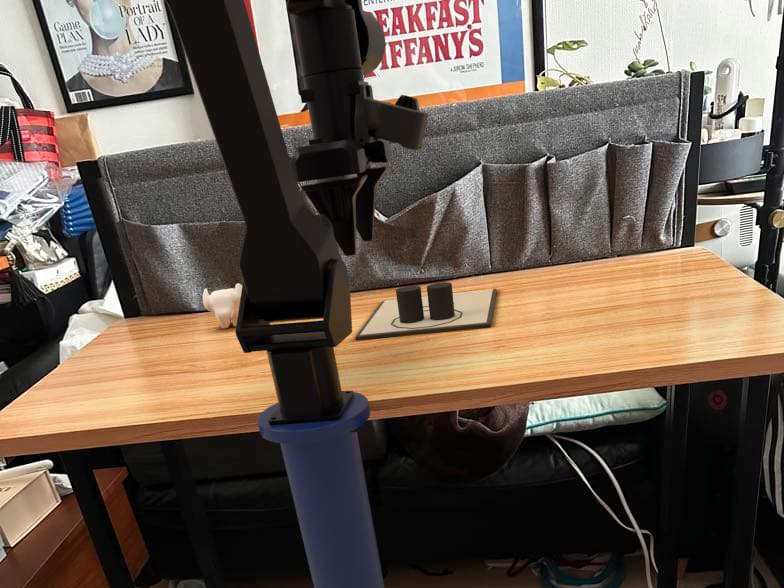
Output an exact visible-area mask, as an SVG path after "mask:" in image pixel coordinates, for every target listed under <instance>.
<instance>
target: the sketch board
mask: <svg viewBox="0 0 784 588" xmlns="http://www.w3.org/2000/svg"><path fill="white" fill-rule="evenodd" d="M497 292H498V289H497V288H490V289H480V290H470V291H462V292H453V302H454V312H455V316H454V317H452V318H449V319H445V320H431V319H430V312H429V303H428V295H425V296H422V304H423V312H424V319H423V320H422V321H419V322H415V323H401V322H400V318H399V311H398V303H397V298H396V299H388V300H382V301H381V302H380V304H379V305H378V306H377V308H376V309H375V310H374V311H373V313H372V314H371V316H370V317H369V318H368V320H367V321H366V322H365V323H364V324H363V326H362V328H361V329H360V330H359V331H358V333H357V334H356V335H355V341H361V340H371V339H381V338H391V337H402V336H413V335H421V334H431V333H434V334H435V333H440V332H441V333H443V332H452V331H461V330H462V331H463V330H473V329H483V328H491V326H492V321H493V316H494V315H493V314H494V309H495V303H496V298H497Z"/></svg>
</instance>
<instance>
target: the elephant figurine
mask: <svg viewBox="0 0 784 588" xmlns="http://www.w3.org/2000/svg"><path fill="white" fill-rule="evenodd" d="M242 285H243V284H241V283H236V284H235V286H234V287H232V288H225V289H218V290H213V291H212V292H211V293H210V294H209V291H208V288H207V287H206V288H204V290H203V292H202V305H203V308H204V309H206V310H207V311H209V312H211V313H214V316H215V318H216V320H218V322H219V325H220V327H221V328H222V329H228V328H230V327H231V326H230V325H232V326H233V327H234V328H236V324H237V318H238V311H239V305H240V298H241V292H242Z"/></svg>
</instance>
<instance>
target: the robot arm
mask: <svg viewBox="0 0 784 588" xmlns="http://www.w3.org/2000/svg"><path fill="white" fill-rule="evenodd" d="M163 1H164V2H165V3H166V5H167V6H168V8H169V11H170V14H171V16H172V20H173V22H174V26H175V28H176V31H177V33H178V37H179V39H180V42H181V45H182V48H183V51H184V54H185V56H186V59H187V62H188V65H189V68H190V71H191V73H192V76H193V79H194V82H195V85H196V88H197V90H198V94H199V96H200V99H201V102H202V105H203V108H204V110H205V114H206V116H207V119H208V123H209V126H210V128H211V130H212V134H213V136H214V139H215V142H216V144H217V148H218V151H219V153H220V156H221V159H222V162H223V165H224V169H225V171H226V174H227V177H228V180H229V182H230V185H231V187H232V188H231V189H232V191H233V194H234V196H235V199H236V202H237V205H238V208H239V210H240V214H241V216H242V219H243V223H244V226H245V229H244V234H243V240H242V244H241V249H240V254H239V258H238V267H239V271H240V274H241V278H242V284H241V285H242V292H241V298H240V305H239V311H238V318H237V324H236V327H235V336H236V338H237V341H238V343H239V345H240V348H241V350H242V352H243V353H244V354H252V352H266V355H267V359H268V364H269V368H270V372H271V376H272V382H273V385H274V390H275V394H276V398H277V403H279V407H278V408H277V409H276V411H275V412H274V413H273V414H272V415H271V417H270V418H269V419H268V422H269V425H283V424H296V423H309V422H322V421H335V420H339V419H340V418H341V417H342V415H343V414H344V412H345V410H346V409H347V407H348V405H349V404H350V402H351V400H352V399H353V397H354V392H355V391H353V390H342V386H341V381H340V375H339V369H338V364H337V359H336V354H335V353H336V352H335V348H337V347H338V346H339V345H340V344H342V342H343V341H345V340H346V339H347V338H348V337H349V336H350V335H351V334H352V333H353V318H352V302H351V301H352V299H351V283H350V276H349V270H348V267H347V265H346V262H345V261H344V260H343V257H342V255H341V253H340V251H339V248H340V250H341V251H342V253H343V255H344V256H346V257H352V256H355V255H356V254H357V232H358V234H359V237H360V239H361V240H362V242H365V243H366V242H371V241H372V240H373V239H374V228H375V213H376V200H377V189H378V185H379V183H380V181H381V180H382V178H383V176H384V175H385V174H386V173H387V172H388V171H389V168H390V165H382V166H377V164H379V163H381V164H384V163H389V162H392V154H391V152H392V151H391V146H390V142H391V143H394V144H398V145H400V146H401V147H402V148H405V149H408V150H413V151H419V150H420V149H422V148H423V142H424V139H425V138H424V137H425V133H426V129H427V127H428V117H429V112H427V111H422V110H421V109H420V104H419V99H418V98H416V97H413V96H410V95H405V94H400V96H399V97H398V99H397V100H396V102H395V103H392V102H388V101H382V100H379V99H374V93H373V86H372V84H369V81H365V79H364V76H367V75H369V74H371V73H373V72H374V71H376V70H377V69H378V67H379V66H380V64H381V62H382V60H383V58H384V56H385V51H386V36H385V32H384V30H383V28H382V25H381V23H380V22H379V20H378V19H377V18H376V17H375V16H374V15H373V14H372V13H370V12H368V11H366V10H364V9H363V2H362V0H285V2H287V3H286V12H287V13H288V14H289V15H291V16H292V23H293V29H294V34H295V40H296V45H297V51H298V58H299V63H300V68H301V75H302V79H303V87H304V89H301V90H299V96H300V101H301V104H307V109H308V115H309V120H310V126H311V133H312V138H313V139H308V145H303V146H298V147H297V148H296V149H295V152H294V153H293V155H292V157H290V155H289V152H288V148H287V145H286V141H285V138H284V135H283V131H282V128H281V124H280V121H279V116H278V114H277V113H278V112H277V109H276V107H275V104H274V100H273V99H274V98H273V96H272V93H271V89H270V86H269V82H268V79H267V76H266V75H267V74H266V71H265V68H264V65H263V62H262V58H261V55H260V51H259V47H258V44H257V41H256V38H255V34H254V30H253V26H252V23H251V20H250V16H249V13H248V10H247V6H246V3H245V0H163ZM309 181H314V182H309ZM302 182H303V183H304V182H307V183H305V184H301V185H300V190H301V191H302V192H303V193H305V195H306V196H307V198H308V199H309V201H310V202H311V204H312V206H314V209H315V210H316V212H317V213H318V214H314V213H313V212H312V211H311V210H310V209H309V208H308V207H306V205H305V204H304V202H303V199H302V196H301V194H300V193H301V192H300V190H299V187H298V183H302ZM338 247H339V248H338ZM320 319H322V320H320ZM306 320H307V321H306ZM308 320H311V321H308ZM294 321H295V322H294ZM297 321H298V322H297ZM271 323H272V324H271Z"/></svg>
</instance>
